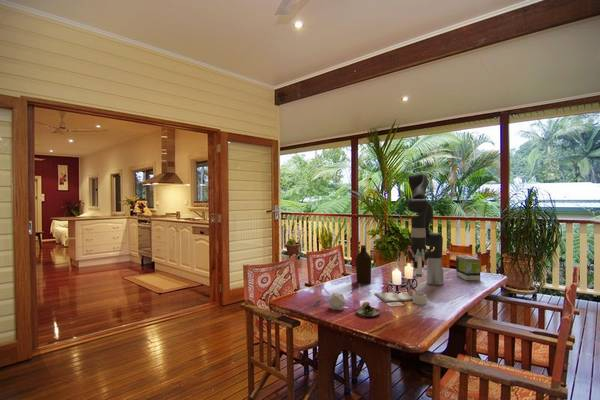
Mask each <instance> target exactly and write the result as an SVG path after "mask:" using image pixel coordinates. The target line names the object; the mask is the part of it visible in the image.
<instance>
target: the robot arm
mask: <svg viewBox="0 0 600 400" xmlns="http://www.w3.org/2000/svg"><path fill="white" fill-rule="evenodd" d="M407 180H408V185H409V188H410V191H411V197H410V198H409V200H408V201H407V210H408V211H409V212H411V213H417V216H413V217H411V219H410V222H411V223H410V224H411V226H410V245H411V246H410V248H409V249H406V250H405V251H406V253H407V257H408V259H409V260H410V261H412V264H413V265H412V266H413V268H414V269H416V268H417V257H418V253H419V252H421V253H422V269H424V267H425V261H426V284H428V285H432V286H441V285H444V284H445V283H444V269H443V256H442V255H443V242H444V239H443V235H442V234H441V233H440V232H439V233H438V232H431V230H430V225H431V223H432V221H433V218H434V212H433V208H432V204H431V203H430V202H429V201H428V200H427V199H426V192H427V189H428V186H429V179H428V175H427V174H426V173H425V172H420V173H415V174H411V175H409V176H408V178H407ZM427 247H432V248H433V250H431V249H430V248H427Z"/></svg>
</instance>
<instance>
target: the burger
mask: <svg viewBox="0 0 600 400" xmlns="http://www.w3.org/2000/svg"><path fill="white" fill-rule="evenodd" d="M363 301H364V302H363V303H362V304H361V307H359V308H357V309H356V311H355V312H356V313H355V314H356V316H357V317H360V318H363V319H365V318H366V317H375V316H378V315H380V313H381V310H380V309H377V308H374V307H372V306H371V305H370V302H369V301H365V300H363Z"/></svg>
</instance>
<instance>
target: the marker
mask: <svg viewBox="0 0 600 400" xmlns="http://www.w3.org/2000/svg"><path fill="white" fill-rule="evenodd" d="M415 277H417V278H422V277H423V268H422V253H421V252H419V253H418V257H417V268H415Z"/></svg>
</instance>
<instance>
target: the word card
mask: <svg viewBox="0 0 600 400" xmlns="http://www.w3.org/2000/svg"><path fill="white" fill-rule="evenodd" d="M385 304H386V305H387V306H389V307H399V306H400V307H402V306H403V307H404V306H405V304H403V302H388V303H385Z"/></svg>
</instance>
